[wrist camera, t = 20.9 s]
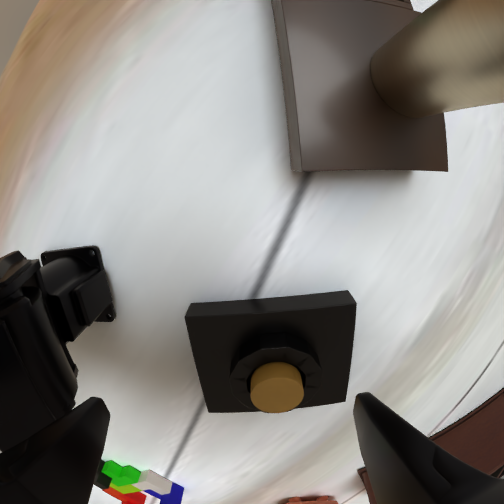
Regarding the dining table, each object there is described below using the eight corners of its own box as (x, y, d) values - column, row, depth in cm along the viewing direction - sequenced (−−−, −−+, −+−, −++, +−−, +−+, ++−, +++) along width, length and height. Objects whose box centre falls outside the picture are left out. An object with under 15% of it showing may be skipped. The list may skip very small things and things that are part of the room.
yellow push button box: (211, 396, 24) (205, 427, 21) (190, 302, 22) (178, 330, 18) (340, 386, 24) (350, 416, 20) (348, 290, 21) (365, 314, 17)
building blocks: (111, 445, 28) (101, 468, 24) (184, 487, 31) (180, 510, 27) (74, 461, 31) (66, 478, 27) (134, 497, 34) (129, 515, 30)
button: (253, 398, 20) (252, 414, 18) (248, 363, 19) (247, 379, 17) (300, 394, 20) (303, 410, 18) (301, 359, 19) (304, 375, 17)
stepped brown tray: (291, 170, 19) (301, 171, 14) (262, -50, 13) (263, -82, 9) (413, 168, 18) (448, 171, 14) (370, -40, 13) (386, -66, 8)
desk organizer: (511, 406, 28) (540, 445, 17) (367, 490, 32) (380, 542, 21) (522, 370, 25) (560, 411, 14) (356, 469, 29) (372, 533, 18)
